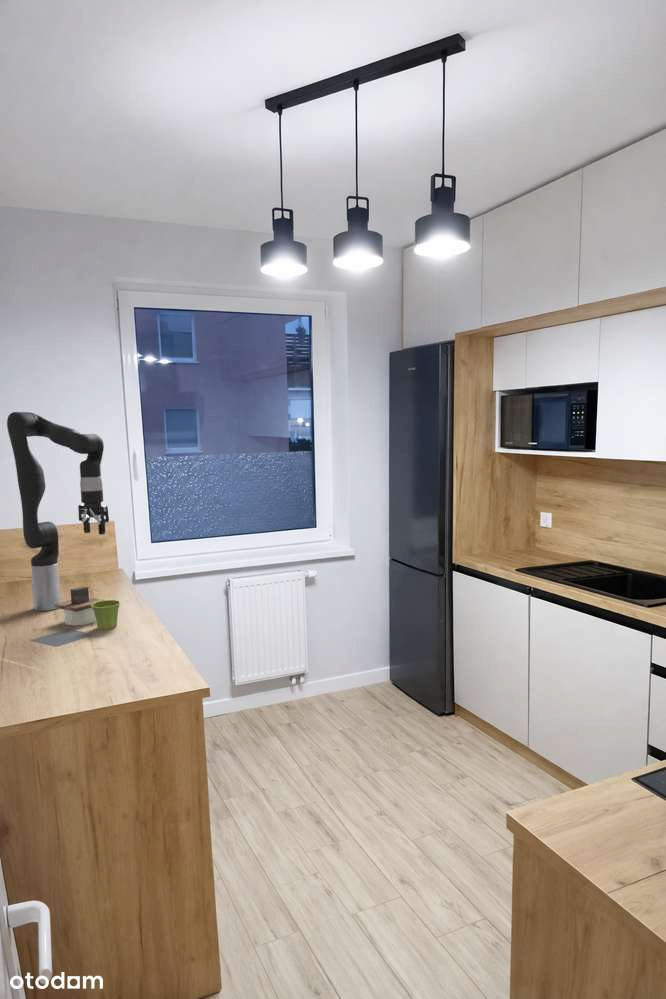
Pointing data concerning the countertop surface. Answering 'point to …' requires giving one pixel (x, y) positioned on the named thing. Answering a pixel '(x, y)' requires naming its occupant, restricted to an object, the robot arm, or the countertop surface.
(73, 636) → the mat
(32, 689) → the countertop surface
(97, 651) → the countertop surface
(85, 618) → the bowl
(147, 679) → the countertop surface
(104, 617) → the plant pot
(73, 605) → the lid
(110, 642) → the countertop surface
